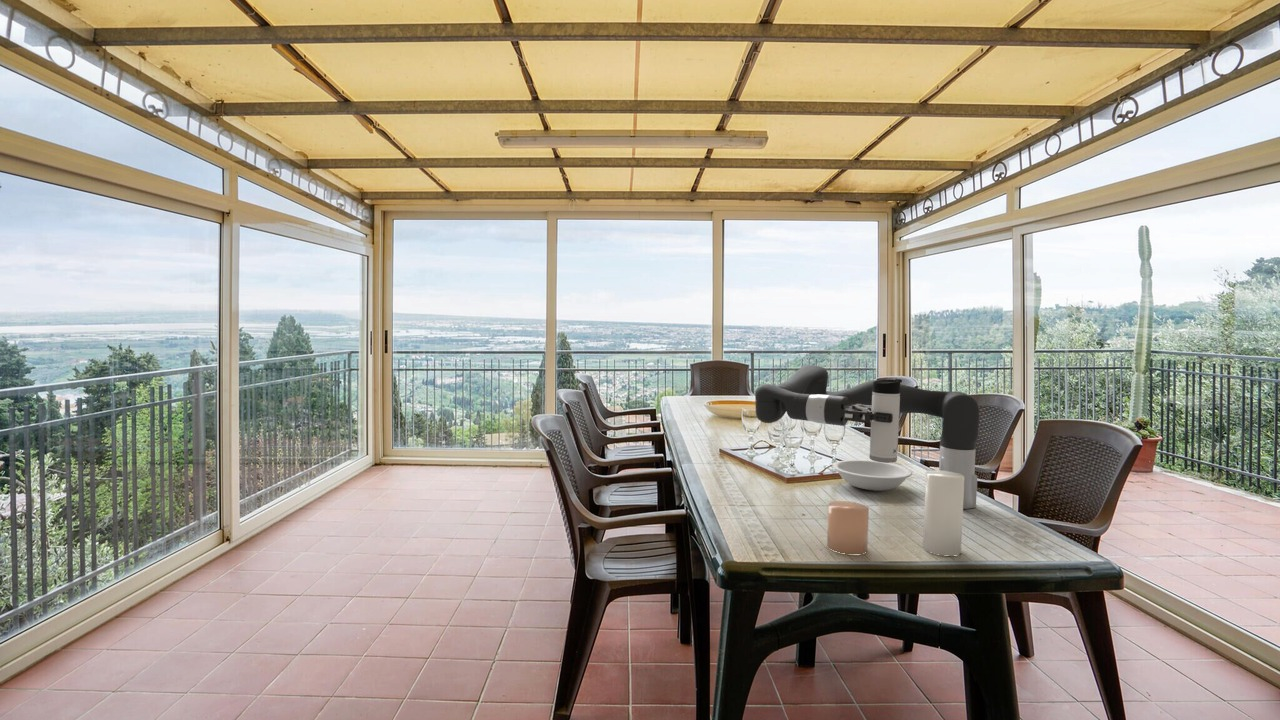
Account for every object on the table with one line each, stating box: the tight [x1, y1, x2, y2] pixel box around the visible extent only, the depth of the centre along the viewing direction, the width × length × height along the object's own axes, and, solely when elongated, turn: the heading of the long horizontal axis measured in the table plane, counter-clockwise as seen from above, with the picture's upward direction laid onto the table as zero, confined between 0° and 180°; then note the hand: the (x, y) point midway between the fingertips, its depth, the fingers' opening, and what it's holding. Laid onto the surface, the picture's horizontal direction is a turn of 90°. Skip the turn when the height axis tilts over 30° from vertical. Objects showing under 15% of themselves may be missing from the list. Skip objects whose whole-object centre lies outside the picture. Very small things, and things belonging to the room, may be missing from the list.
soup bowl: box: [832, 459, 913, 491], centre depth 191 cm, size 24×24×7 cm
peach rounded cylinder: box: [826, 500, 870, 554], centre depth 138 cm, size 9×9×10 cm
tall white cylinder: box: [922, 469, 964, 556], centre depth 138 cm, size 8×8×18 cm
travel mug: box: [869, 378, 903, 464], centre depth 144 cm, size 6×7×20 cm
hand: (895, 416), depth 142 cm, fingers closed on travel mug, 6 cm apart
